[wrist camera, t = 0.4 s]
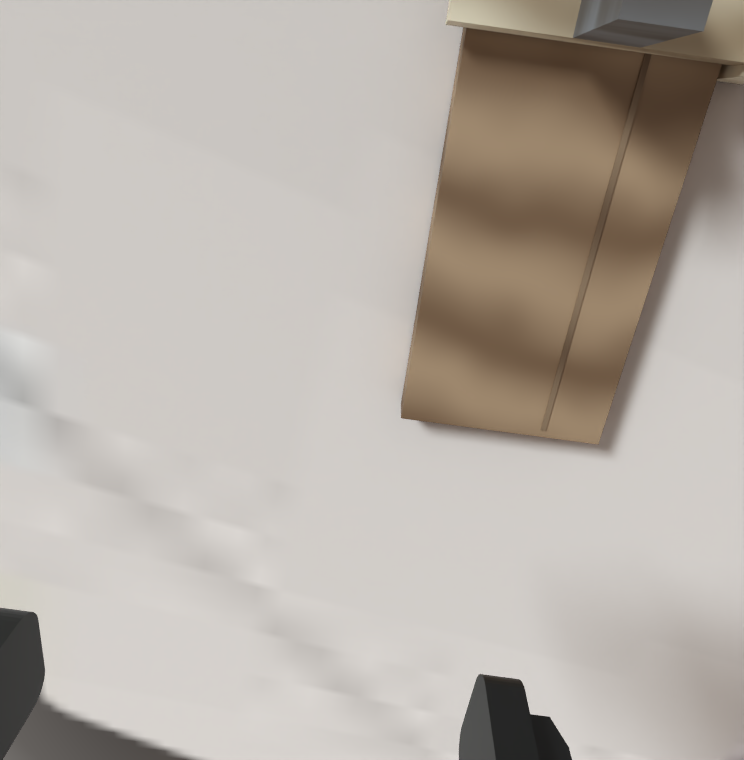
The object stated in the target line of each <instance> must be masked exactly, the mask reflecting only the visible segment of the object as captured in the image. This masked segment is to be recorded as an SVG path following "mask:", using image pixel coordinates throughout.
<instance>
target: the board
mask: <svg viewBox="0 0 744 760" xmlns="http://www.w3.org/2000/svg"><path fill="white" fill-rule="evenodd" d="M721 66H722V64H718V63H711V62H704V61H697V60H690V59H683V58H676V57H669V56H662V55H655V54H648V53H641V52H634V51H627V50H620V49H613V48H606V47H599V46H592V45H585V44H578V43H571V42H564V41H557V40H550V39H543V38H536V37H529V36H522V35H515V34H508V33H501V32H494V31H487V30H480V29H473V28H466V27H463V33H462V39H461V45H460V51H459V57H458V63H457V69H456V75H455V81H454V87H453V93H452V99H451V105H450V111H449V117H448V123H447V129H446V135H445V141H444V147H443V153H442V160H441V166H440V172H439V178H438V184H437V190H436V196H435V202H434V208H433V214H432V220H431V226H430V232H429V238H428V244H427V250H426V256H425V262H424V268H423V274H422V280H421V286H420V292H419V299H418V305H417V311H416V317H415V323H414V329H413V335H412V341H411V347H410V353H409V359H408V365H407V371H406V377H405V383H404V389H403V395H402V401H401V418H404V419H411V420H419V421H426V422H434V423H441V424H449V425H456V426H464V427H471V428H479V429H486V430H494V431H501V432H509V433H516V434H523V435H531V436H538V437H546V438H553V439H561V440H568V441H576V442H583V443H591V444H599V441H600V438H601V434H602V431H603V428H604V425H605V422H606V419H607V416H608V413H609V410H610V407H611V404H612V401H613V398H614V395H615V391H616V388H617V385H618V382H619V379H620V376H621V373H622V370H623V367H624V364H625V361H626V358H627V355H628V352H629V348H630V345H631V342H632V339H633V336H634V333H635V330H636V327H637V324H638V321H639V318H640V315H641V312H642V309H643V305H644V302H645V299H646V296H647V293H648V290H649V287H650V284H651V281H652V278H653V275H654V272H655V269H656V266H657V262H658V259H659V256H660V253H661V250H662V247H663V244H664V241H665V238H666V235H667V232H668V229H669V226H670V223H671V219H672V216H673V213H674V210H675V207H676V204H677V201H678V198H679V195H680V192H681V189H682V186H683V183H684V180H685V176H686V173H687V170H688V167H689V164H690V161H691V158H692V155H693V152H694V149H695V146H696V143H697V140H698V137H699V134H700V130H701V127H702V124H703V121H704V118H705V115H706V112H707V109H708V106H709V103H710V100H711V97H712V94H713V91H714V87H715V84H716V81H717V78H718V75H719V72H720V69H721Z"/></svg>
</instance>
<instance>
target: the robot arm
mask: <svg viewBox="0 0 744 760" xmlns="http://www.w3.org/2000/svg"><path fill="white" fill-rule="evenodd" d="M44 676H45V666H44V659H43V652H42V644H41V637H40V630H39V622H38V617H37V615H36V614H35V613H34V612H28V611H20V610H13V609H5V608H0V760H3V758H4V757H5V755H6V753H7V752H8V750H9V748H10V747H11V745H12V743H13V742H14V740H15V738H16V737H17V735H18V733H19V731H20V730H21V728H22V726H23V725H24V723H25V722H26V720H27V718H28V717H29V715H30V713H31V712H32V710H33V708H34V706H35V704H36V702H37V700H38V698H39V695H40V692H41V689H42V686H43V682H44ZM459 760H572V758H571V754H570V751H569V747H568V745H567V744H566V742H565V741H564V739H563V737H562V736H561V734H560V733H559V731H558V730H557V728H556V726H555V725H554V723H553V722H552V720H551V718H550V717H546V716H538V715H531V714H530V712H529V707H528V702H527V698H526V693H525V689H524V686H523V683H522V681H521V680H519V679H512V678H505V677H498V676H490V675H483V674H479V675H478V677H477V679H476V682H475V685H474V689H473V692H472V695H471V698H470V702H469V705H468V708H467V711H466V714H465V718H464V721H463V724H462V728H461V734H460V742H459Z"/></svg>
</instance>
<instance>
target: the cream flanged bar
mask: <svg viewBox="0 0 744 760" xmlns="http://www.w3.org/2000/svg"><path fill="white" fill-rule="evenodd" d="M445 25H452V26H459V27H466V28H473V29H480V30H487V31H494V32H501V33H508V34H515V35H522V36H529V37H536V38H543V39H550V40H557V41H564V42H571V43H578V44H585V45H592V46H599V47H606V48H613V49H620V50H627V51H634V52H641V53H648V54H655V55H662V56H669V57H676V58H683V59H690V60H697V61H704V62H711V63H718V64H722V66H721V69H720V72H719V75H718V78H717V81H721V82H728V83H735V84H742V85H744V0H449V5H448V12H447V18H446V24H445Z"/></svg>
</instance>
